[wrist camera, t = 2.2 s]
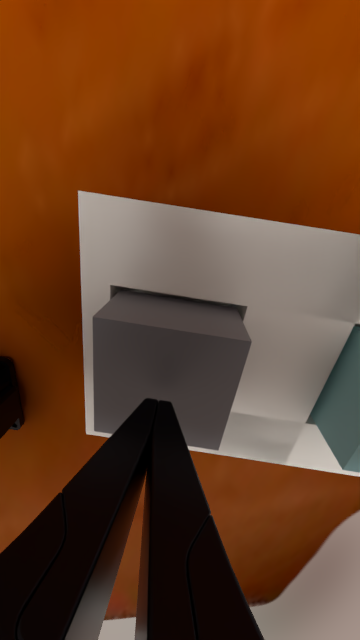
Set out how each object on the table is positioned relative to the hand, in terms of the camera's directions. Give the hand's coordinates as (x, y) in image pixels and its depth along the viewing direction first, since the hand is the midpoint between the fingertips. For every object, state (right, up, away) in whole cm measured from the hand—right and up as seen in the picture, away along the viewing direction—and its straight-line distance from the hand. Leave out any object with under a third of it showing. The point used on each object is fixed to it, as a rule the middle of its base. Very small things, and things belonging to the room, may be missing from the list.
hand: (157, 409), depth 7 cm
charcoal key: (0, +2, +3) cm, 4 cm away
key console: (+5, +2, +7) cm, 9 cm away
